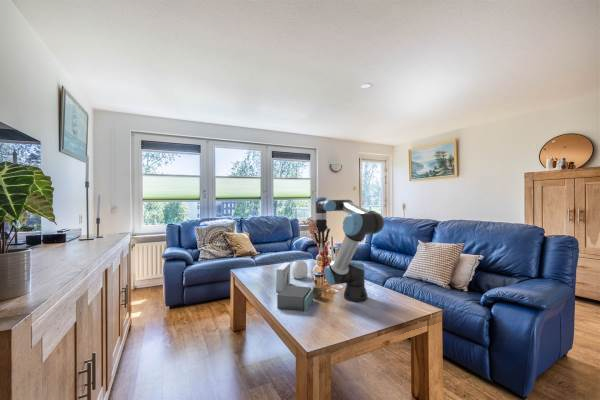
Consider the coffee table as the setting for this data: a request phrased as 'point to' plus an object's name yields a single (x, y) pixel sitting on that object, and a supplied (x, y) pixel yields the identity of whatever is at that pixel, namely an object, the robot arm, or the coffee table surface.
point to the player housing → (292, 298)
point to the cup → (299, 269)
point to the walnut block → (316, 292)
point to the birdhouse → (308, 300)
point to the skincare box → (282, 277)
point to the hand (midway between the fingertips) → (321, 252)
